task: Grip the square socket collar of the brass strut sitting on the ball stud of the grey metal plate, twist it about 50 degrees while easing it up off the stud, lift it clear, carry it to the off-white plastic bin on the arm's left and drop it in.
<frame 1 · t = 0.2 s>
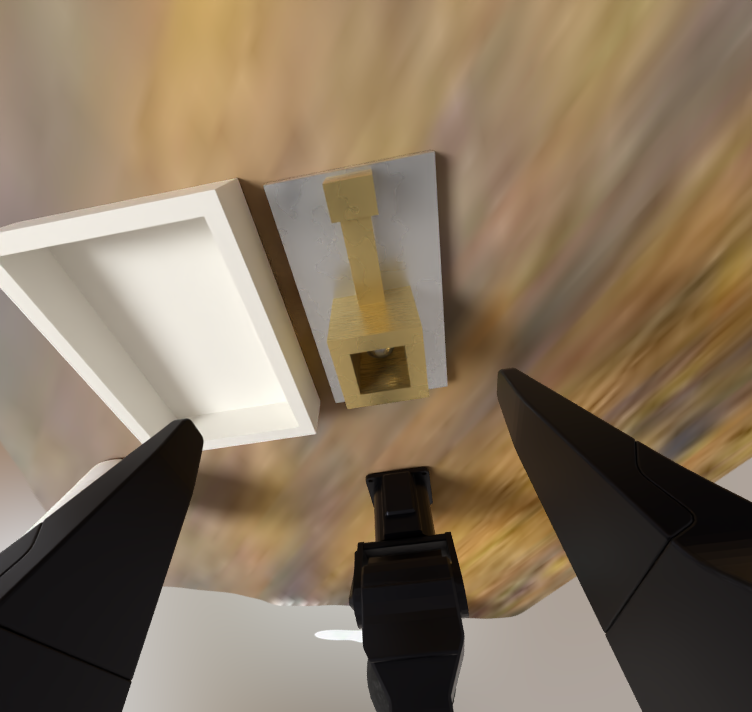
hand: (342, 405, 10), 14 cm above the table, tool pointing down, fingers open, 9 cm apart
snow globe: (404, 602, 56), on the table
cup: (131, 474, 33), on the table
bin: (198, 329, 23), on the table
strut: (377, 325, 23), point 1 cm above the table, touching stud plate
stud plate: (377, 318, 23), on the table
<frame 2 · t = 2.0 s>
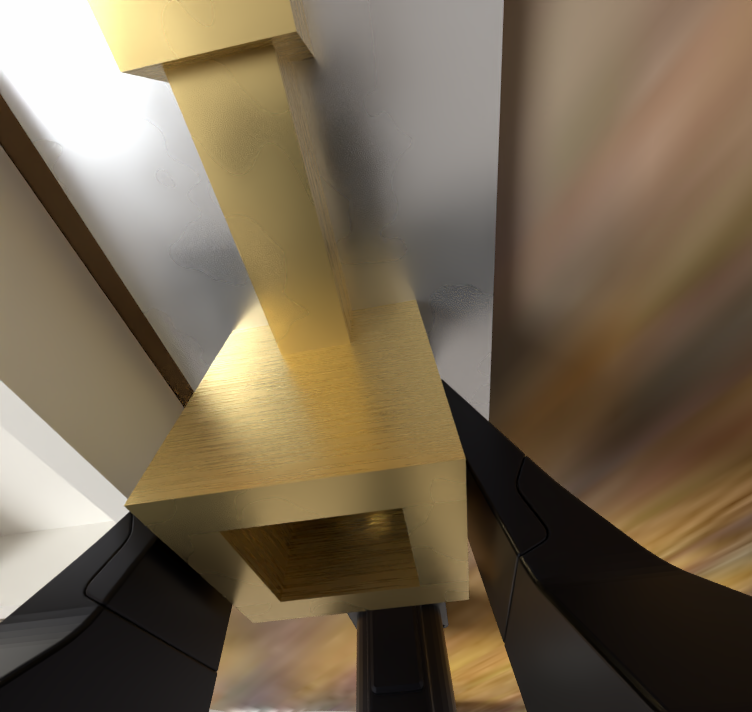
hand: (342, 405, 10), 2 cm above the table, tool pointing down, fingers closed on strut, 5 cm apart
strut: (343, 386, 10), point 1 cm above the table, touching gripper, stud plate
stud plate: (344, 367, 11), on the table
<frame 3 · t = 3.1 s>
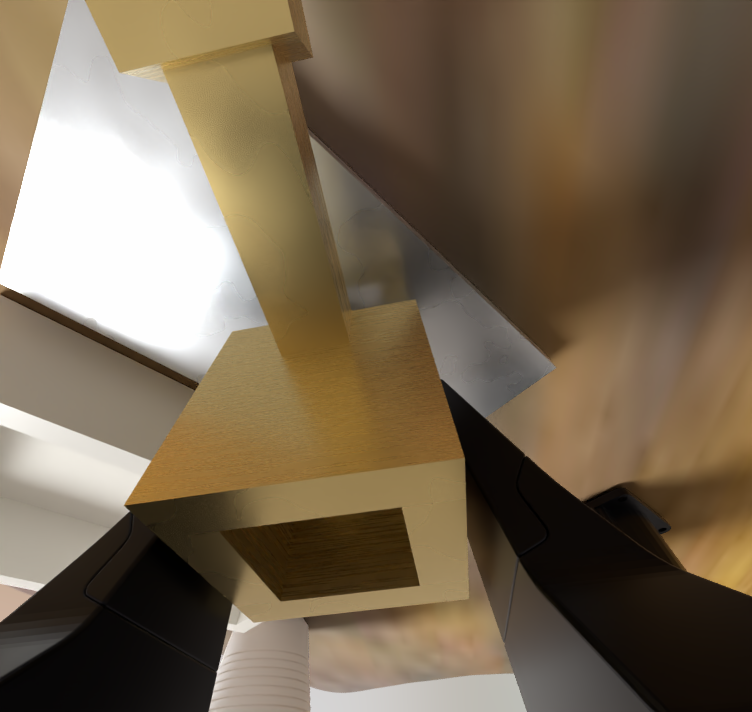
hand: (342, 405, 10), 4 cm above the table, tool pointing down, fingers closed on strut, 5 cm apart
cup: (273, 618, 29), on the table
bin: (174, 481, 17), on the table
strut: (343, 386, 10), point 3 cm above the table, touching gripper
stud plate: (346, 338, 13), on the table
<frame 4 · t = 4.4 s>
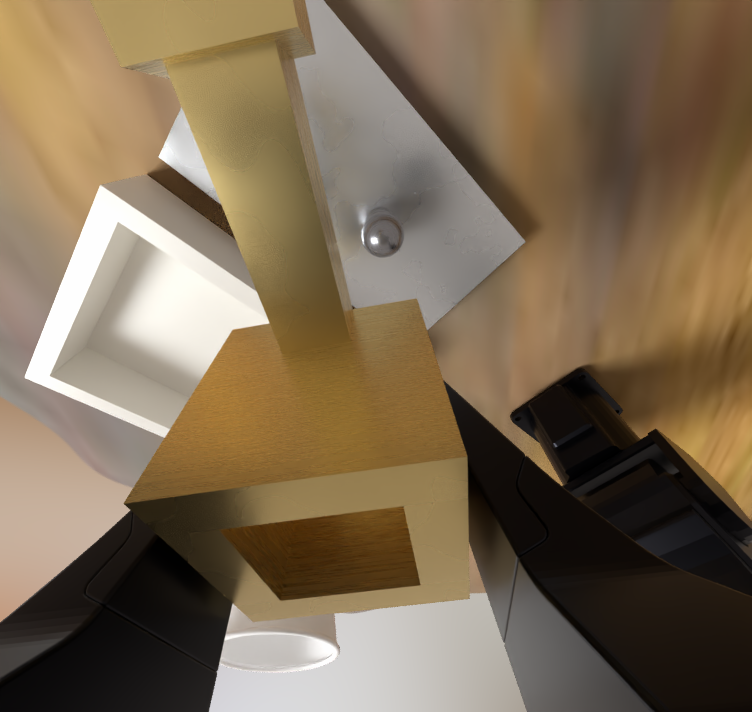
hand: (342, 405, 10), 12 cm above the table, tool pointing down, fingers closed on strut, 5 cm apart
cup: (297, 513, 34), on the table
bin: (238, 350, 22), on the table
strut: (343, 385, 10), point 11 cm above the table, touching gripper
stud plate: (379, 219, 18), on the table
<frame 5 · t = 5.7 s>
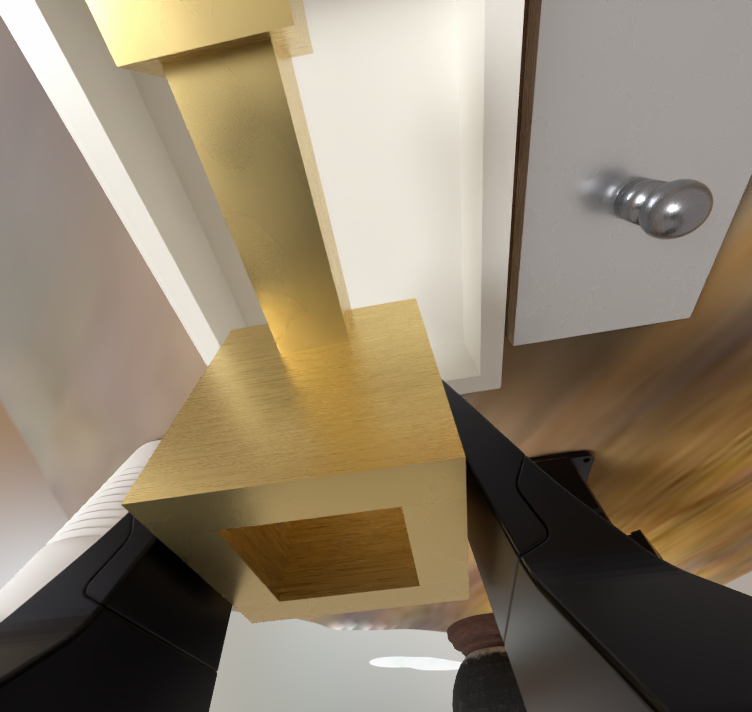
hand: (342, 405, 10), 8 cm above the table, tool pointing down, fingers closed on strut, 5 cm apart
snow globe: (486, 625, 47), on the table
cup: (185, 461, 24), on the table
bin: (331, 213, 14), on the table
strut: (343, 385, 10), point 8 cm above the table, touching gripper
stud plate: (618, 194, 14), on the table
when the fingers open (4 cm above the table, at t = 6.9 s): strut drops 2 cm, resting on bin.
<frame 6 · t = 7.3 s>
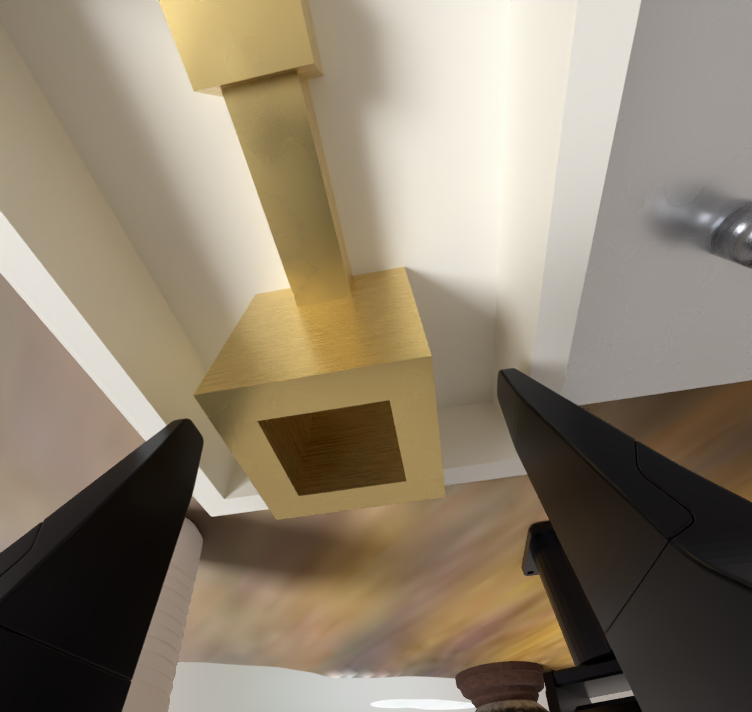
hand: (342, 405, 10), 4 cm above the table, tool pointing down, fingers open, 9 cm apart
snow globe: (498, 671, 43), on the table
cup: (153, 526, 20), on the table
bin: (323, 247, 11), on the table
strut: (346, 343, 12), resting on bin
stud plate: (711, 222, 11), on the table
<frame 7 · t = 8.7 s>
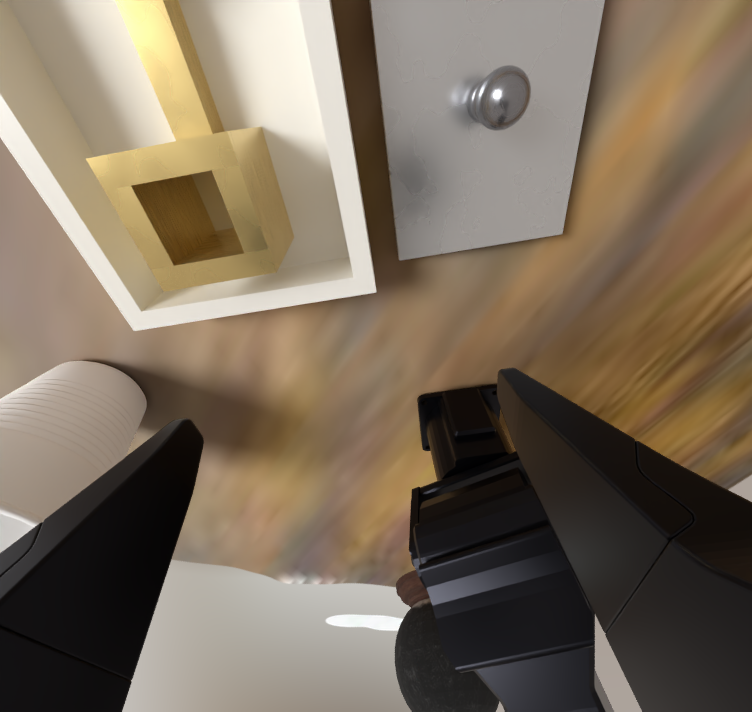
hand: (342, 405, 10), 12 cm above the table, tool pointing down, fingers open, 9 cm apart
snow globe: (433, 580, 49), on the table
cup: (105, 388, 24), on the table
bin: (203, 111, 15), on the table
strut: (231, 195, 17), resting on bin
stud plate: (478, 101, 15), on the table
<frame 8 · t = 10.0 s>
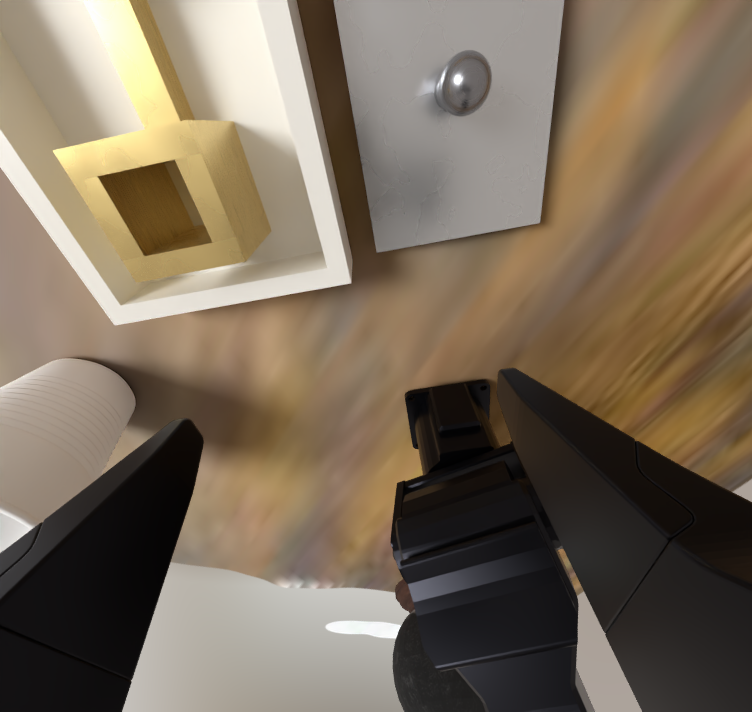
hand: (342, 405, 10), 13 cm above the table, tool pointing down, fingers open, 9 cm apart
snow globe: (433, 586, 48), on the table
cup: (95, 387, 25), on the table
bin: (177, 108, 15), on the table
strut: (207, 190, 17), resting on bin
stud plate: (447, 91, 15), on the table
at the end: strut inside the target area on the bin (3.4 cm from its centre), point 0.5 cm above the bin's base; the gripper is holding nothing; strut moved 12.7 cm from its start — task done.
